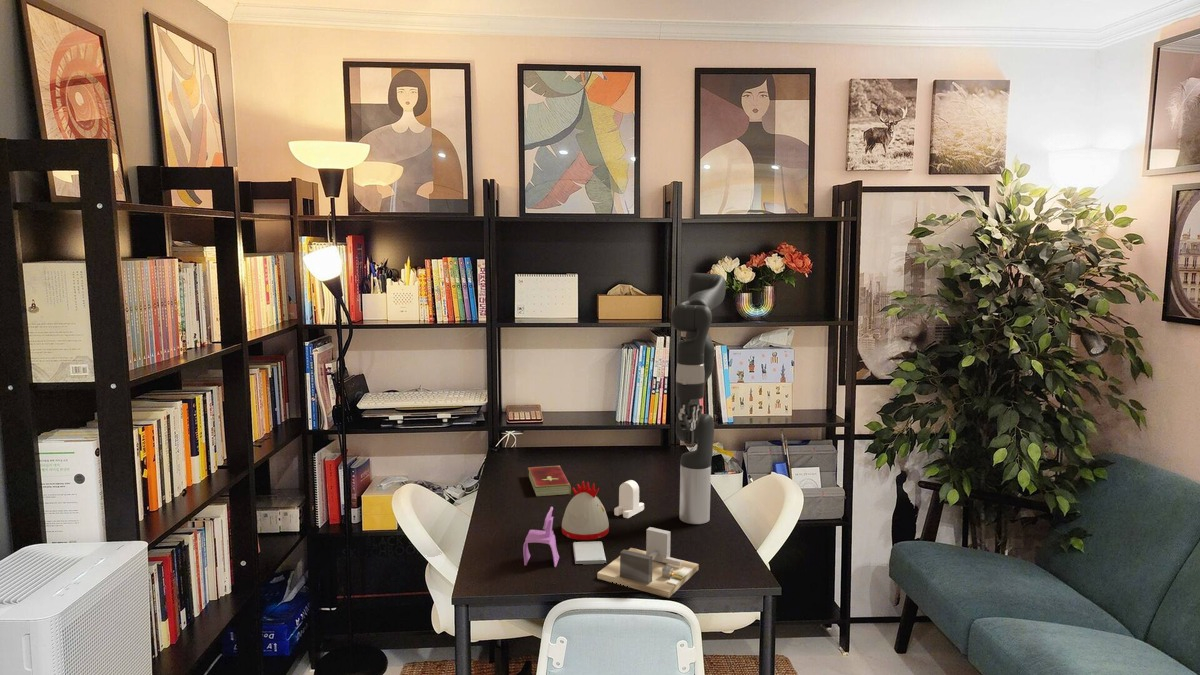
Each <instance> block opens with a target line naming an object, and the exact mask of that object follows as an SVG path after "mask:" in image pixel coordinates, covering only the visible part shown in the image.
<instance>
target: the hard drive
mask: <svg viewBox="0 0 1200 675" xmlns="http://www.w3.org/2000/svg"><path fill="white" fill-rule="evenodd" d="M572 549H573V550H572V551H573V556H574V563H575V564H583V565H605V564H604V563H606V564H607V559H606V554H605V551H604V545H603V542H602V541H599V540H598V541H577V542H576V541H574V542H573V543H572Z"/></svg>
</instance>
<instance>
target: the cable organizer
mask: <svg viewBox="0 0 1200 675" xmlns="http://www.w3.org/2000/svg"><path fill="white" fill-rule="evenodd" d="M618 489H619V490H618V506H616V507H614V510H613V512H614V516H617V517H619V516H621V515H622V517H623V518H624V519H629V518H631V517H632V516H635V515H636V514H639V513H640V512H643V511H644V510H645V503H644V502H640V486H639V484H638V483H637V482H636V481H635V480H633V479H629V480H626V481H625V482H622V483H621V484H620V485H619V486H618Z"/></svg>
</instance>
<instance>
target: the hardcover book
mask: <svg viewBox="0 0 1200 675" xmlns="http://www.w3.org/2000/svg"><path fill="white" fill-rule="evenodd" d="M527 470H528V478H529V481H530V483H531V487H532V488H533V491H534V493H535V496H536V497H547V496H558V495H559V496H561V495H571V494H572V486H571V483H570V482H569V480H568V478H567V476H566V474H565V473H564V471H563V469H562V467H561V465H550V466H549V465H547V466H533V467H527Z"/></svg>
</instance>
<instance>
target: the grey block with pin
mask: <svg viewBox="0 0 1200 675" xmlns="http://www.w3.org/2000/svg"><path fill="white" fill-rule="evenodd" d="M662 576H663V577H667V578H670V577H671V576H675V577H679V578H683V576H681V575H677V574H673V567H669V566H665V567H664V568H663V569H662Z"/></svg>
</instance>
